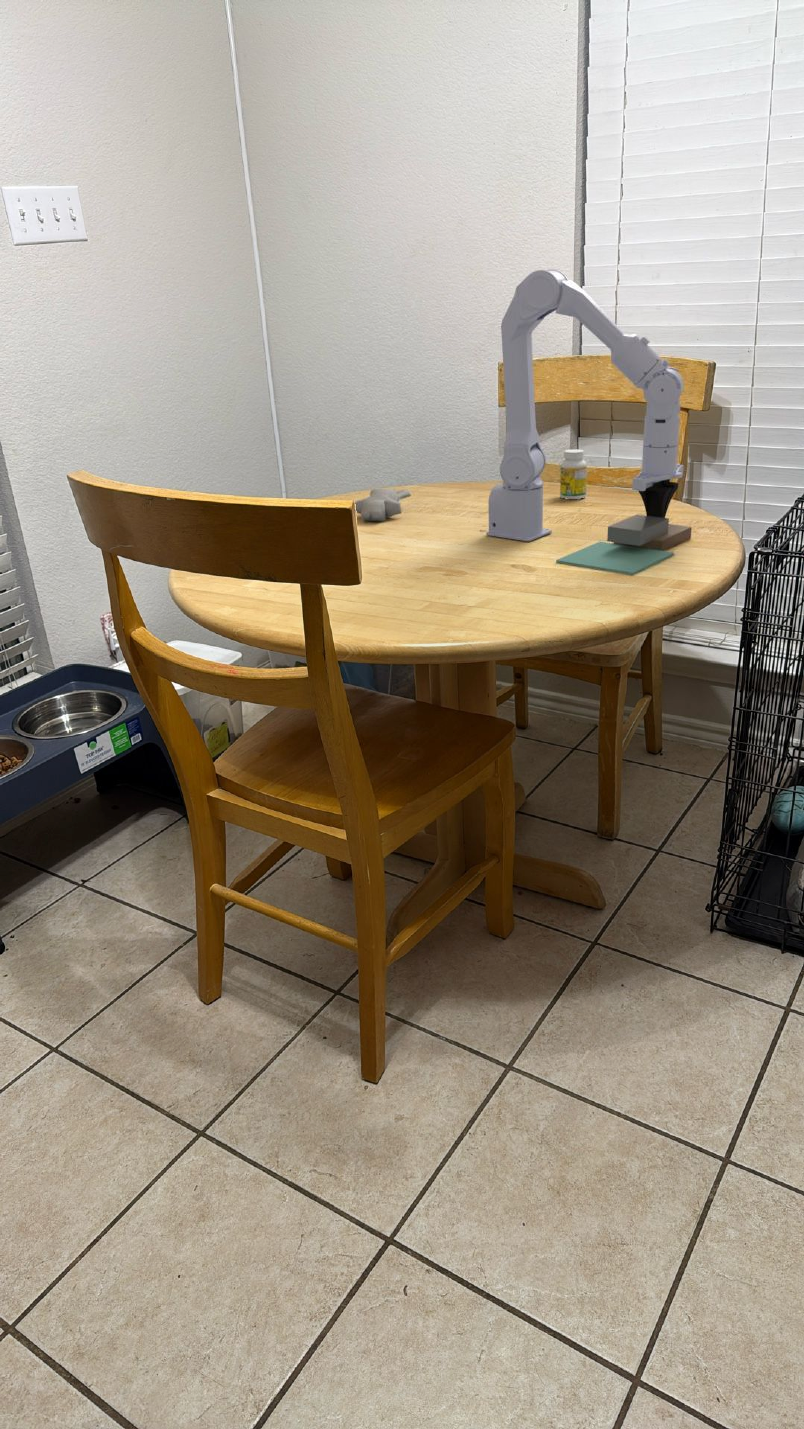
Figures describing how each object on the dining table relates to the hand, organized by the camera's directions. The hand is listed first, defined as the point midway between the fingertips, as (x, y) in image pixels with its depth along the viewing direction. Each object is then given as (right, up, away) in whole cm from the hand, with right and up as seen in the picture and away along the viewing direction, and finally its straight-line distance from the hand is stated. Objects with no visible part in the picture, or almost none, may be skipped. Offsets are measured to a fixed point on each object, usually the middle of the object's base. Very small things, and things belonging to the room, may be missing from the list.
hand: (655, 525), depth 168 cm
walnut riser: (0, -3, +1) cm, 3 cm away
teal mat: (-9, -7, -8) cm, 14 cm away
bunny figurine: (-48, +7, +29) cm, 56 cm away
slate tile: (-4, -3, -4) cm, 6 cm away
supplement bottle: (-8, +13, +36) cm, 39 cm away
